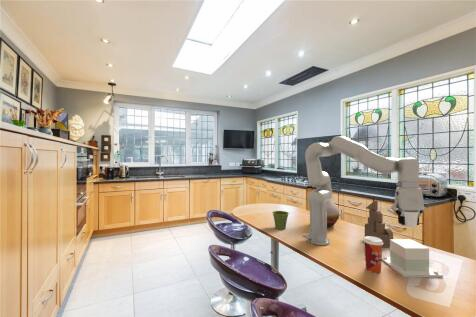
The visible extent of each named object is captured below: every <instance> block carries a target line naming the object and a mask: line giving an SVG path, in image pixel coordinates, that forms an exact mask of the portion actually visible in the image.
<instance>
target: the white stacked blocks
mask: <svg viewBox="0 0 476 317" xmlns="http://www.w3.org/2000/svg"><path fill="white" fill-rule="evenodd" d="M381 262H383V263H385V264H386V265H387V266H389V267H390V268H391V269H392V270H394V271H396V272H397V273H398V274H399V275H400V276H402V277H403V278H444V275H443V274H442V273H440V272H439V271H437V270H435V269H433V268H432V267H430V248H429V247H427V246H425V245H423V244H421V243H419V242H417V241H415V240H413V239H410V238H409V239H407V238H406V239H403V238H402V239H394V238H393V239H390V246H389V256H383V255H382V261H381Z"/></svg>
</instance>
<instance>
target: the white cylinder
mask: <svg viewBox="0 0 476 317" xmlns="http://www.w3.org/2000/svg"><path fill="white" fill-rule="evenodd" d="M400 212H401V210H400ZM403 216H404V217H405V225H402V224H400V225H401V226H403V227H405V228H417V226H418V225H417V219H418V211H404V215H403Z"/></svg>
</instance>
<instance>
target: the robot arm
mask: <svg viewBox="0 0 476 317" xmlns="http://www.w3.org/2000/svg"><path fill="white" fill-rule="evenodd" d="M337 154H342V155H344V156H346V157H348V158H351V159H352V160H355V161H356V162H357V163H359V164H361V165H363V166H365V167H366V168H369V169H370V170H373V171H375V172H377V173H380V174H384V175H388V174H393V173H397V181H396V182H395V185H396V189H395V193H394V195H395V196H394V203H393V204H392V205H391V207H390V209H391V210H392V211H393V212H394V213H395V214H396V215H397V219H398V220H397V221H398V224H400V225H401V224H402V225H401V226H403V225H405V217H404V216H403V215H404V211H418V219H417V226H419V225H420V217H421V215H422V214H423V212H424V211H425V210H426V209H427V207H426V206H425V203H424V195H423V190H422V189H421V187H420V180H419V179H420V178H419V177H420V175H419V174H420V173H419V171H420V170H419V169H420V168H419V160H418V159H417V158H416V157H400V158H397V157H396V158H395V157H385V156H382V155H381V154H378V153H376V152H373V151H371V150H369V149H368V148H367V147H366V146H365V144H364V145H363V144H361V143H359V142H356V141H355V140H351V138H349V137H347V136H341V135H337V136H334V137H333V138H332V139H331V140H330V141H328V142H321V141H320V142H314V143H312V144H310V145H309V146H308V147H307V148H306V150H305V154H304V159H305V163H306V174H307V180H308V184H309V185H310V186H311V187H312V188H316V189H313V190H311V191H310V192H309V194H308V198H307V199H308V200H307V201H308V204H309V232H308V233H306V234H305V233H301V235H302V236H301V237H302V238H305V239H307V242H308V243H310V244H312V245H316V246H328V245H329V244H330V243H331V241H330V239H329V238H328V229H327V228H328V227H327V212H326V207H325V203H328V202H329V201H332V198H333V189H332V182H331V181H332V180H331V177H330V175H329V174H328V172H326V171H324V170H323V168H322V162H321V161H320V157H322V158H323V157H331V156H334V155H337ZM400 210H401V212H400Z"/></svg>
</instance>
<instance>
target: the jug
mask: <svg viewBox="0 0 476 317" xmlns="http://www.w3.org/2000/svg"><path fill="white" fill-rule="evenodd" d="M325 207H326V212H327V228H332V227H334V225H336V223H337V222H338V219H339V218H340V209H339V207H338V205H337V204H336V203H334V202H333V200H331V201H329V202H328V203H325Z"/></svg>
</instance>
